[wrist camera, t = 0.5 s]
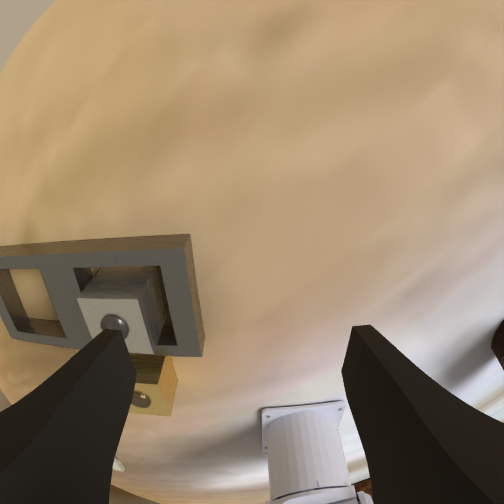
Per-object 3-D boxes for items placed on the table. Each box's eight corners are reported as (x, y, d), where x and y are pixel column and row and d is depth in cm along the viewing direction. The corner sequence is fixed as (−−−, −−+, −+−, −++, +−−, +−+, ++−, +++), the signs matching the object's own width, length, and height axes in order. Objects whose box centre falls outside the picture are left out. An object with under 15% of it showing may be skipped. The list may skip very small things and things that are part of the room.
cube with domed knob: (166, 314, 20) (152, 355, 16) (116, 313, 20) (96, 351, 16) (156, 264, 18) (136, 301, 15) (102, 265, 18) (75, 299, 15)
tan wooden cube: (178, 379, 23) (170, 417, 19) (134, 376, 23) (123, 412, 19) (168, 345, 21) (157, 386, 18) (121, 343, 21) (105, 381, 18)
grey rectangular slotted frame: (204, 337, 21) (202, 356, 19) (22, 325, 21) (11, 338, 19) (190, 233, 17) (184, 248, 16) (-9, 247, 17) (-23, 257, 15)
